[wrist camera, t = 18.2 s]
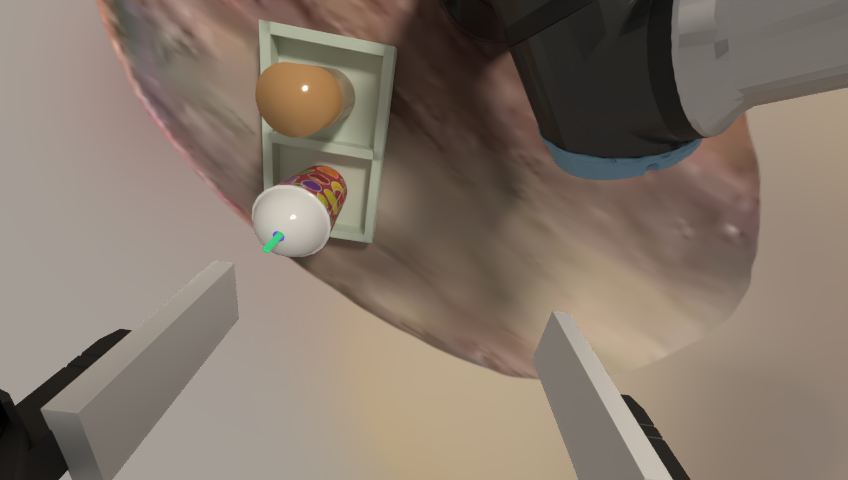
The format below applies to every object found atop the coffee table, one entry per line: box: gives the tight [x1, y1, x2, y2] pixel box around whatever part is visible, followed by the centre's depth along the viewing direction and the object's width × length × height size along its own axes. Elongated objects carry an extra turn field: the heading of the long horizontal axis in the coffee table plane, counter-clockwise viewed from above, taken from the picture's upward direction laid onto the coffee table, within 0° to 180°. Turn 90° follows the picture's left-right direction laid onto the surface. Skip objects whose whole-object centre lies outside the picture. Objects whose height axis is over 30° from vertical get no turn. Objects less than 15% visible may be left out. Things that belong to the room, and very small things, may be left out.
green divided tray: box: [259, 19, 398, 243], centre depth 45 cm, size 26×15×4 cm, turn 170°
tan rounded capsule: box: [256, 62, 355, 138], centre depth 37 cm, size 6×6×14 cm
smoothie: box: [252, 165, 347, 257], centre depth 40 cm, size 8×8×20 cm
